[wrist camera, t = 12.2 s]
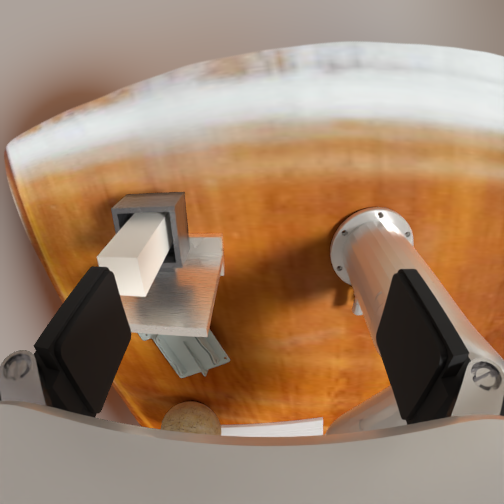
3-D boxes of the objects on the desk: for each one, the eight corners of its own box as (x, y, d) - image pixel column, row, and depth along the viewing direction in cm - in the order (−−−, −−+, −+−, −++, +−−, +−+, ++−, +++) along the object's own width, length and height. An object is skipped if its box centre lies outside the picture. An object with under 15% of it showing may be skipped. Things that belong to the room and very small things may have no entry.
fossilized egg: (200, 424, 68) (192, 477, 55) (157, 401, 63) (142, 457, 50) (236, 408, 63) (231, 468, 50) (190, 382, 59) (177, 445, 46)
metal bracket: (241, 367, 48) (172, 390, 52) (248, 348, 53) (183, 372, 57) (192, 292, 46) (126, 326, 50) (204, 279, 51) (141, 312, 55)
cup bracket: (224, 271, 45) (209, 353, 31) (134, 269, 46) (92, 342, 32) (219, 178, 39) (194, 234, 25) (118, 183, 39) (54, 236, 25)
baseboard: (322, 436, 71) (322, 414, 65) (323, 445, 68) (323, 424, 63) (207, 443, 74) (194, 422, 68) (206, 451, 71) (193, 432, 66)
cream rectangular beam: (174, 240, 36) (145, 296, 27) (143, 240, 37) (107, 294, 27) (170, 208, 35) (137, 257, 25) (138, 209, 35) (96, 257, 25)
